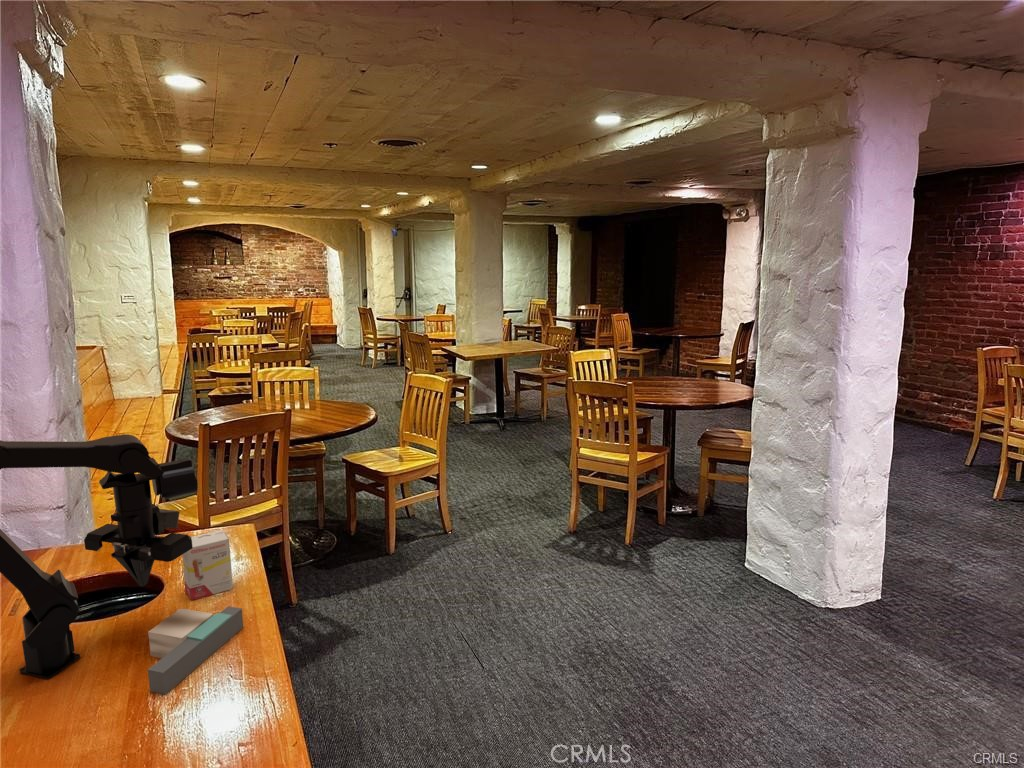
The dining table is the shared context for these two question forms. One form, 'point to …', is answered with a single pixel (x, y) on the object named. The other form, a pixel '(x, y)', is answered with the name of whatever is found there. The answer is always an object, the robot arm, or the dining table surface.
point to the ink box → (207, 565)
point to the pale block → (175, 630)
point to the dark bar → (194, 650)
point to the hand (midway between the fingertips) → (143, 584)
